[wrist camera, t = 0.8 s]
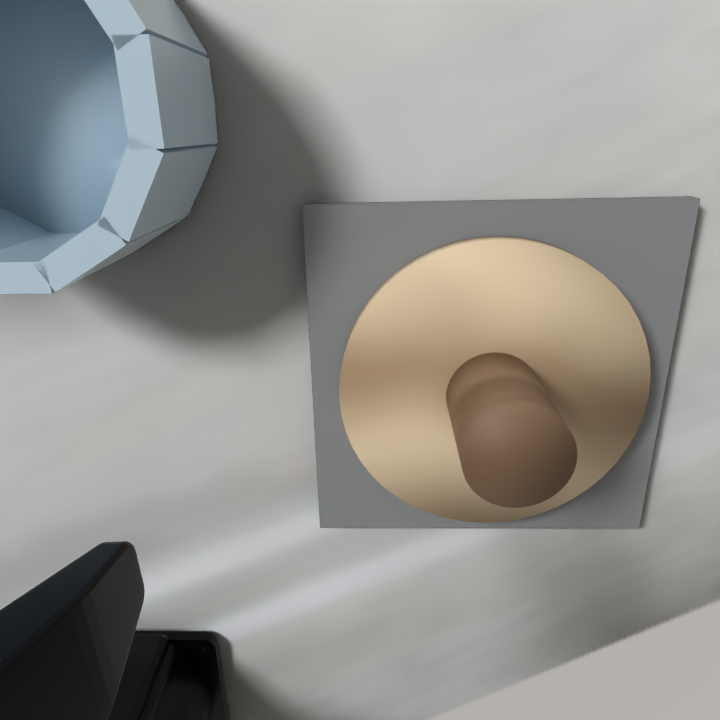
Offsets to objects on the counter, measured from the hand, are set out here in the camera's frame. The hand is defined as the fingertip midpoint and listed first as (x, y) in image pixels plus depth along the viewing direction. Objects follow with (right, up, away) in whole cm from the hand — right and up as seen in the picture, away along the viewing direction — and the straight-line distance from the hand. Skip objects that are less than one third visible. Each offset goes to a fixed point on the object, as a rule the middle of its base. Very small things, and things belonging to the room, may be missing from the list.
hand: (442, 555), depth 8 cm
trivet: (+3, +2, +12) cm, 13 cm away
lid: (+3, +2, +12) cm, 12 cm away
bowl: (-10, +10, +9) cm, 17 cm away
